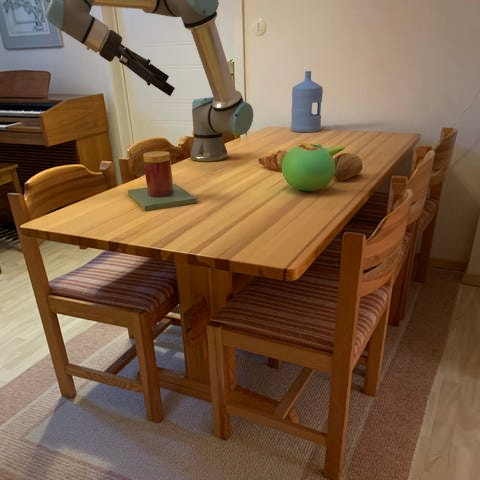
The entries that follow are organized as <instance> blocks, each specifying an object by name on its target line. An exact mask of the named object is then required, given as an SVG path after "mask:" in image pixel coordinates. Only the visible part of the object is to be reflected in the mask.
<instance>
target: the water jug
mask: <svg viewBox="0 0 480 480" xmlns="http://www.w3.org/2000/svg"><path fill="white" fill-rule="evenodd" d="M291 88H292V89H291V123H290V130H291V131H292V132H294V133H316V132H319V131H321V128H322V123H321V122H322V114H321V109H322V101H323V93H324V89H323V86H322V85H320V84H319V83H317V82H315V81H313V80H312V70H306V71H304V79H303V80H302V81H301V82H299V83H297V84H296V85H294V86H292V87H291ZM314 103H316V105H317V107H316V108H317V109H316V113H313V104H314Z"/></svg>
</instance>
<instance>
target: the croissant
mask: <svg viewBox="0 0 480 480" xmlns="http://www.w3.org/2000/svg"><path fill="white" fill-rule="evenodd" d="M287 152H288V151H285V150H281V149H280V150H278V151H277V152H276V153H271V154H270V155H268V156H263V157H260V158H257V159H258V161H257V162H258V164H260V165H261V166H263V167H264V168H265V169H267V170H272V171H277V172H278V171H279V172H282V162H283V159H284V157H285V155H286V154H287Z"/></svg>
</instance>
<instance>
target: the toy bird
mask: <svg viewBox="0 0 480 480" xmlns="http://www.w3.org/2000/svg"><path fill="white" fill-rule="evenodd" d="M298 144H299V145H296V146H294V147H292V148H290V149H289V150H288V151H286V152H287V154H286V155H285V157H284V159H283V162H282V171H281V174H282V177H283V179H284V180H285V182H286V183H287V184H288V185H290V186H291V187H293V188H294V189H296V190H299V191H304V192H313V191H318V190H321V189H323V188H325V187H326V186H328V185H329V184H330V183H331V181H332V180H333V178H334V173H335V162H334V159H335V158H334V156H335V155H337V154H339V153H340V152H342V151H344V150H345V149H346V146H345V145H338V146H331V147H323V146H322V144H321V143H318V144H312V143H307V142H303V141H299V142H298Z"/></svg>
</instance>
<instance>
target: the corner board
mask: <svg viewBox="0 0 480 480" xmlns="http://www.w3.org/2000/svg"><path fill="white" fill-rule="evenodd" d="M173 191H174V194H173V195H171V196H167V197H150V196H148V193H147V186H146V187H140V188H139V187H137V188H132V189H127V195H128V196H129V197H130V198H131V199H132V200H133V201H134V202H135V203H136V204H137V205H138V206H140V207H141V208H142V209H143V210H144V211H145V212H148V211H154V210H155V211H156V210H160V209H161V210H162V209H167V208H173V207H180V206H186V205H192V204H198V200H197V199H198V198H197V197H196V196H194V195H193V194H191V193H190V192H188V191H187V190H185V189H184V188H182V187H181V186H179V185H178V184H176V183H174V182H173Z"/></svg>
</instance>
